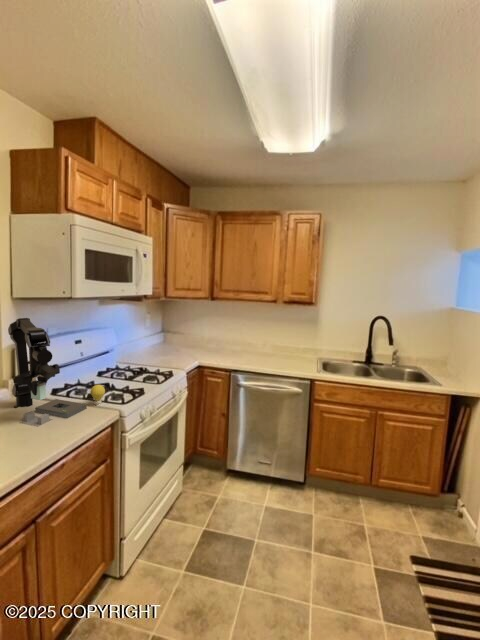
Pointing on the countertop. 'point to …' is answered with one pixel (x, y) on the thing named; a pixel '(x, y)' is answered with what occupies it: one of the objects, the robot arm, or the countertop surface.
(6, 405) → the countertop surface
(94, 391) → the light bulb
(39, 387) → the plug
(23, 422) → the holster
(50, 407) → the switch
